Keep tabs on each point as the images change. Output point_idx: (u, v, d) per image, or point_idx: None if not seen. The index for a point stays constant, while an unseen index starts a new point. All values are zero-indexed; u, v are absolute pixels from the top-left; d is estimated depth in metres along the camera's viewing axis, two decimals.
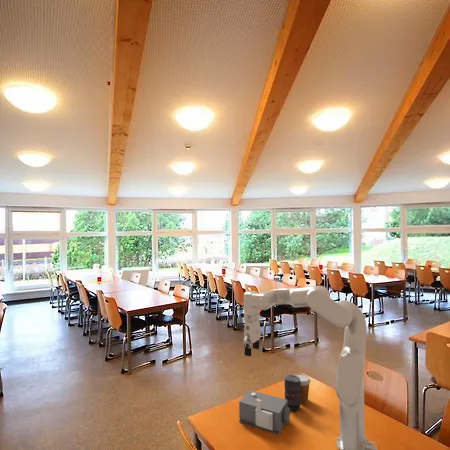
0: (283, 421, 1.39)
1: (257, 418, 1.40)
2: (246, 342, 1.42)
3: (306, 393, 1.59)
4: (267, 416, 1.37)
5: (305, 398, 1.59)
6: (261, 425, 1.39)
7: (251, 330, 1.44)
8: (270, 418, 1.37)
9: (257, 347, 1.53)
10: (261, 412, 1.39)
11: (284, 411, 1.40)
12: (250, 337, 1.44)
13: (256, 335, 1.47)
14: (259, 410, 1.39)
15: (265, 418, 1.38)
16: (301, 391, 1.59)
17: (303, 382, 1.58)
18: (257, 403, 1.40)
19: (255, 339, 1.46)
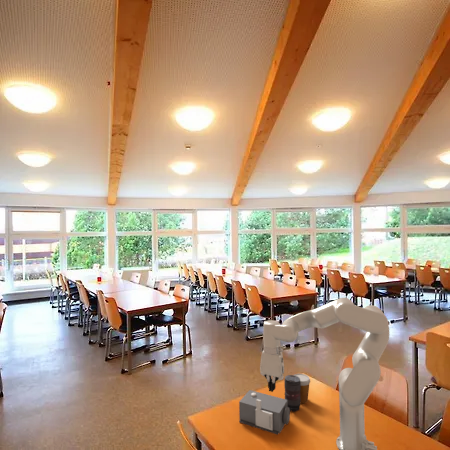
0: (283, 421, 1.39)
1: (257, 418, 1.40)
2: None
3: (306, 393, 1.59)
4: (267, 416, 1.37)
5: (305, 398, 1.59)
6: (261, 425, 1.39)
7: None
8: (270, 418, 1.37)
9: None
10: (261, 412, 1.39)
11: (284, 411, 1.40)
12: None
13: None
14: (259, 410, 1.39)
15: (265, 418, 1.38)
16: (301, 391, 1.59)
17: (303, 382, 1.58)
18: (257, 403, 1.40)
19: None
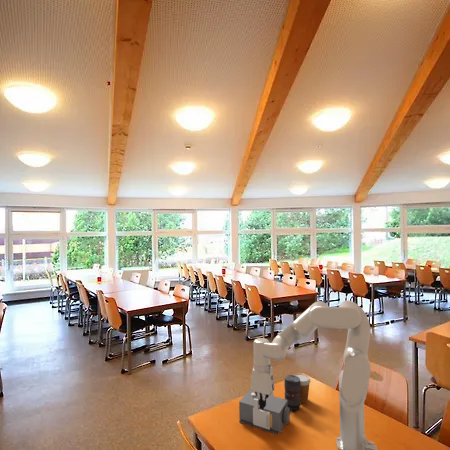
0: (283, 421, 1.39)
1: (255, 417, 1.40)
2: None
3: (306, 393, 1.59)
4: (264, 415, 1.38)
5: (305, 398, 1.59)
6: (258, 424, 1.39)
7: (273, 378, 1.39)
8: (267, 417, 1.37)
9: None
10: (258, 411, 1.39)
11: (284, 411, 1.40)
12: None
13: None
14: (256, 409, 1.40)
15: (262, 417, 1.38)
16: (301, 391, 1.59)
17: (303, 382, 1.58)
18: (254, 402, 1.40)
19: None
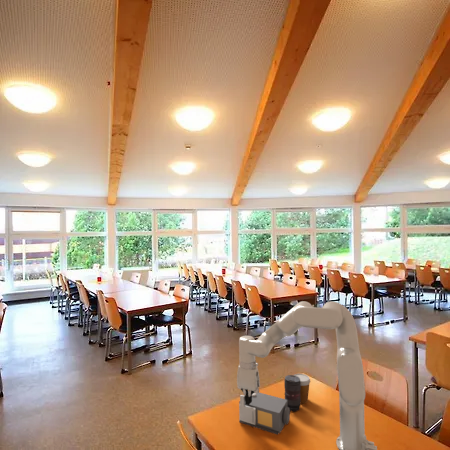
0: (283, 421, 1.39)
1: (241, 412, 1.44)
2: None
3: (306, 393, 1.59)
4: (250, 411, 1.41)
5: (305, 398, 1.59)
6: (244, 420, 1.43)
7: (258, 374, 1.42)
8: (253, 413, 1.41)
9: None
10: (244, 407, 1.43)
11: (284, 411, 1.40)
12: None
13: None
14: (243, 405, 1.43)
15: (248, 413, 1.42)
16: (301, 391, 1.59)
17: (303, 382, 1.58)
18: (241, 398, 1.44)
19: None
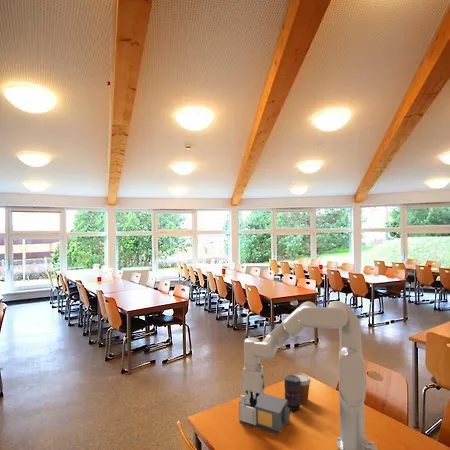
0: (283, 421, 1.39)
1: (242, 413, 1.43)
2: None
3: (306, 393, 1.59)
4: (250, 411, 1.41)
5: (305, 398, 1.59)
6: (245, 420, 1.43)
7: (263, 376, 1.41)
8: (254, 413, 1.40)
9: None
10: (245, 407, 1.43)
11: (284, 411, 1.40)
12: None
13: None
14: (243, 405, 1.43)
15: (249, 413, 1.42)
16: (301, 391, 1.59)
17: (303, 382, 1.58)
18: (241, 399, 1.44)
19: None
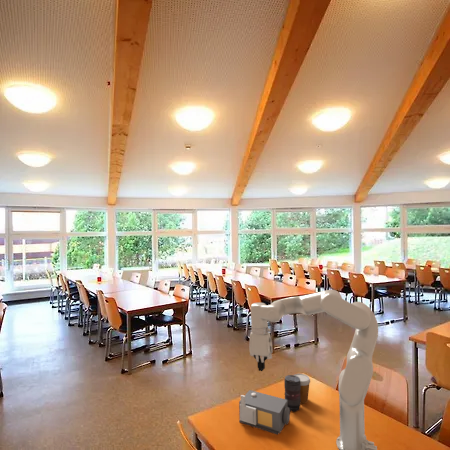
0: (283, 421, 1.39)
1: (242, 413, 1.43)
2: None
3: (306, 393, 1.59)
4: (250, 411, 1.41)
5: (305, 398, 1.59)
6: (245, 420, 1.43)
7: None
8: (254, 413, 1.40)
9: None
10: (245, 407, 1.43)
11: (284, 411, 1.40)
12: None
13: None
14: (243, 405, 1.43)
15: (249, 413, 1.42)
16: (301, 391, 1.59)
17: (303, 382, 1.58)
18: (241, 399, 1.44)
19: None
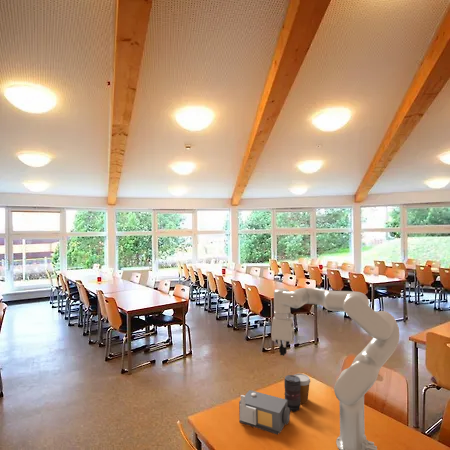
0: (283, 421, 1.39)
1: (242, 413, 1.43)
2: None
3: (306, 393, 1.59)
4: (250, 411, 1.41)
5: (305, 398, 1.59)
6: (245, 420, 1.43)
7: (293, 326, 1.43)
8: (254, 413, 1.40)
9: None
10: (245, 407, 1.43)
11: (284, 411, 1.40)
12: None
13: None
14: (243, 405, 1.43)
15: (249, 413, 1.42)
16: (301, 391, 1.59)
17: (303, 382, 1.58)
18: (241, 399, 1.44)
19: None
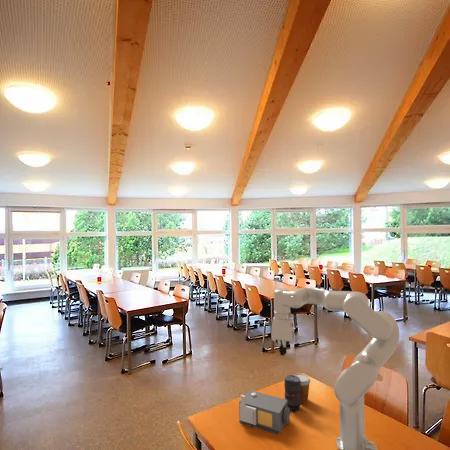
0: (283, 421, 1.39)
1: (242, 413, 1.43)
2: None
3: (306, 393, 1.59)
4: (250, 411, 1.41)
5: (305, 398, 1.59)
6: (245, 420, 1.43)
7: None
8: (254, 413, 1.40)
9: None
10: (245, 407, 1.43)
11: (284, 411, 1.40)
12: None
13: None
14: (243, 405, 1.43)
15: (249, 413, 1.42)
16: (301, 391, 1.59)
17: (303, 382, 1.58)
18: (241, 399, 1.44)
19: None
